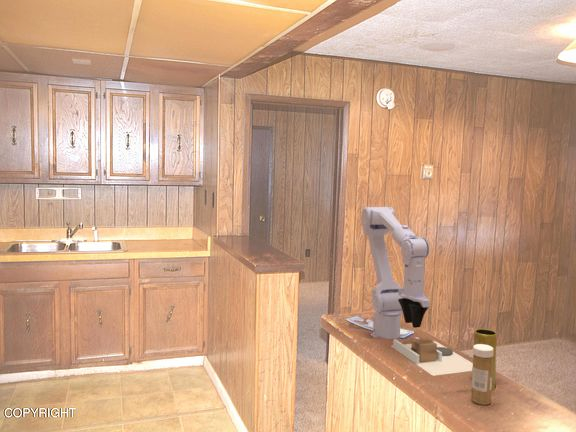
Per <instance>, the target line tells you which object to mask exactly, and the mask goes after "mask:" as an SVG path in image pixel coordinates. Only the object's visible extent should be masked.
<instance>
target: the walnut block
mask: <svg viewBox="0 0 576 432" xmlns="http://www.w3.org/2000/svg"><path fill="white" fill-rule="evenodd" d="M411 344H412V347H411V348H410V349H411V350H413V351H414V352H415V353H417V354H418V355H419V362H420V363H425V362H433V361H436V353H437V344H436V343H435V342H433V340H431V339H429V338H428V337H424V338H419V339H415V338H413V339H411Z"/></svg>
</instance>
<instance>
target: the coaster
mask: <svg viewBox="0 0 576 432" xmlns="http://www.w3.org/2000/svg"><path fill="white" fill-rule="evenodd" d="M444 347H445V346H444ZM444 347H437V350H439V351H440V352H442V356H451V355H452V354H453V352H454V351H453V350H452V349H450V348H449V347H446V348H444Z"/></svg>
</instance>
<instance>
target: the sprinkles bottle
mask: <svg viewBox="0 0 576 432" xmlns="http://www.w3.org/2000/svg"><path fill="white" fill-rule="evenodd" d="M493 353H494V349H493V347H491V346H489V345H485V344H476V345H474V344H473V347H472V356H474V357H473V358H472V363H473V374H472V373H471V377H472V379H471V400H472V402H473V403H476V404H478V405H482V406H483V405H484V406H485V405H490V404H491V403H492V390H491V389H492V358H493Z"/></svg>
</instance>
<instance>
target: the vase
mask: <svg viewBox="0 0 576 432" xmlns="http://www.w3.org/2000/svg"><path fill="white" fill-rule="evenodd" d="M473 335H474V336H473V337H474V338H473V346H474V345H476V344H485V345H489V346H491V347H493V349H494V353H493V358H492V389H491V391H494V390H496V389H497V385H496V381H497V379H496V378H497V377H496V376H497V375H496V374H497V373H496V371H497V365H496V364H497V335H498V333H497V331H495V330H493V329H489V328H477V329H474V334H473ZM472 356H473V355H472ZM473 357H474V356H473ZM472 374H473V367H472V371H471V375H472ZM471 380H472V376H471Z"/></svg>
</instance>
